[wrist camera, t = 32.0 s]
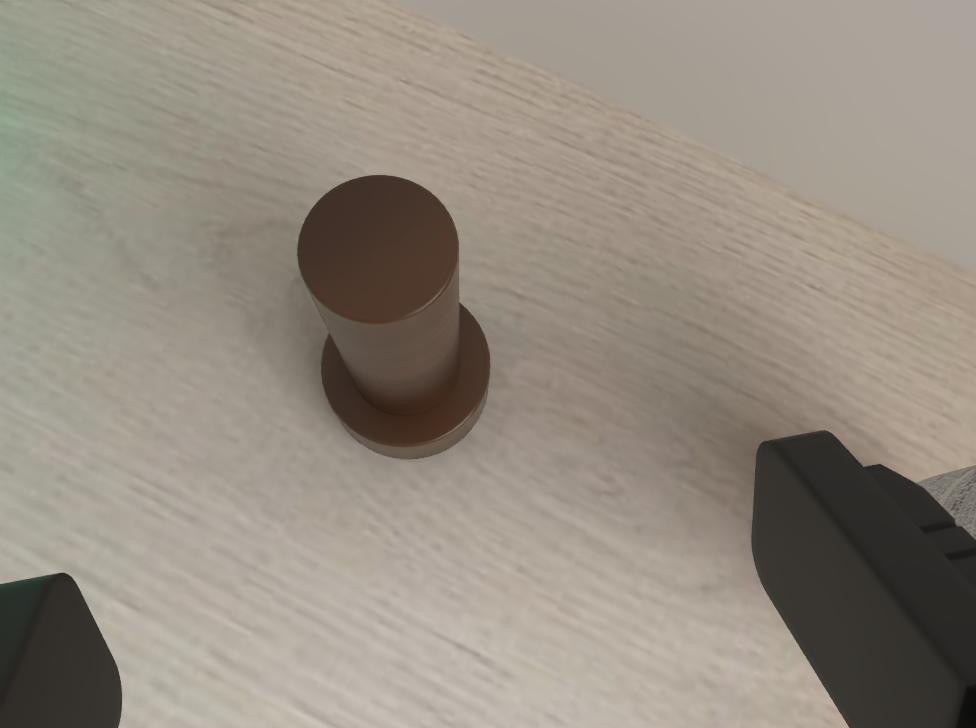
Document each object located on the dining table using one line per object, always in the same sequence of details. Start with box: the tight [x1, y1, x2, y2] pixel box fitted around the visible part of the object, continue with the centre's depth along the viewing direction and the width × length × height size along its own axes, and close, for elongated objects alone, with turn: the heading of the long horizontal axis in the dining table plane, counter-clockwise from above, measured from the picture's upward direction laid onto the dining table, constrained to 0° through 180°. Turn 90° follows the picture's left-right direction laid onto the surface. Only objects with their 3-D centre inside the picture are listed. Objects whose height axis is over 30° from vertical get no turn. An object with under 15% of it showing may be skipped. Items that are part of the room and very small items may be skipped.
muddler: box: [297, 175, 490, 459], centre depth 19 cm, size 4×4×10 cm
